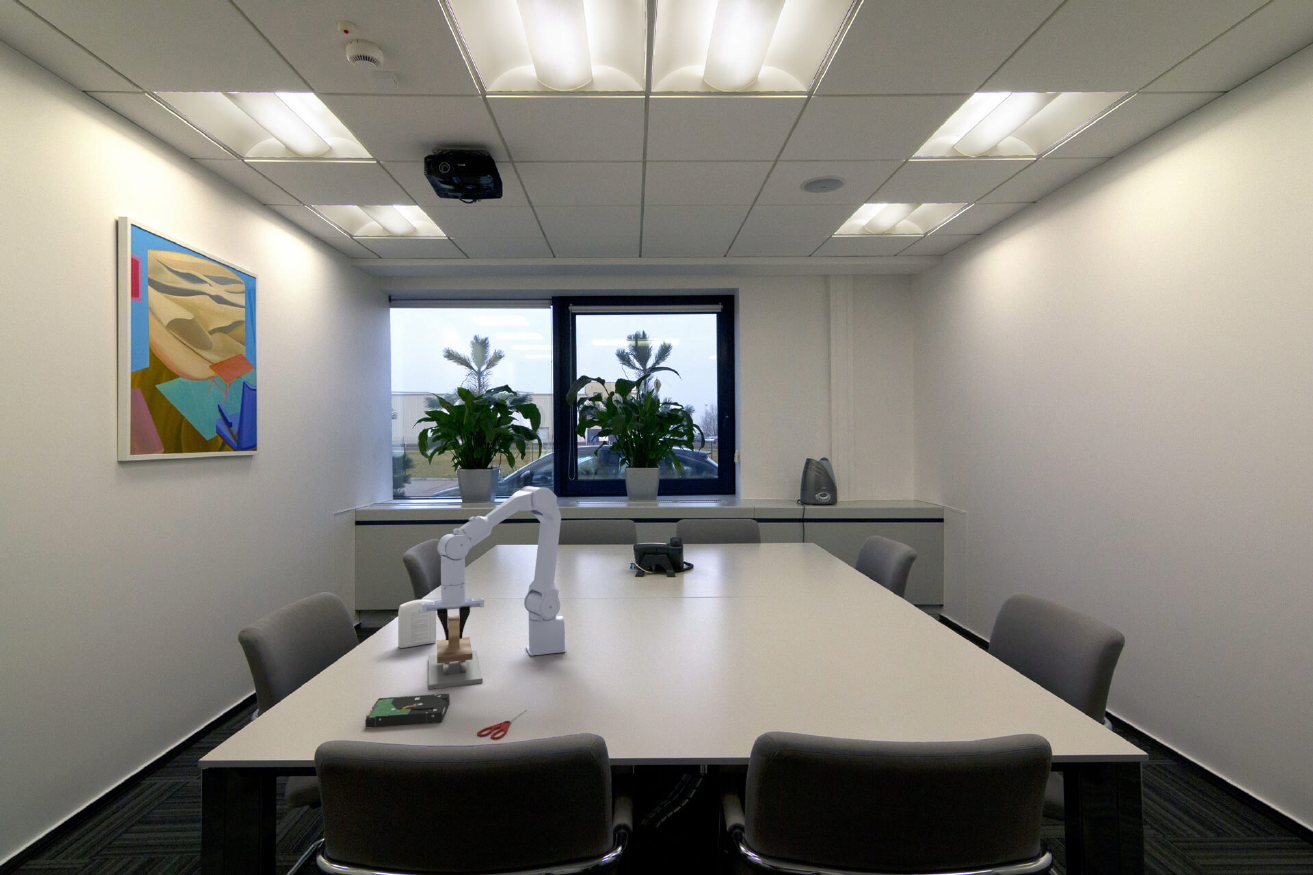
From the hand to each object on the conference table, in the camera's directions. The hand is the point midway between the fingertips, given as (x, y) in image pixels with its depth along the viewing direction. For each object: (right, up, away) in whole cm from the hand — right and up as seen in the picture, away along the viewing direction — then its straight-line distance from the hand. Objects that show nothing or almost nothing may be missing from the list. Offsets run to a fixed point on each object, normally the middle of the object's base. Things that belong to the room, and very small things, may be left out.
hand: (453, 638), depth 166 cm
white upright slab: (-17, -8, +22) cm, 29 cm away
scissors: (+20, -8, -31) cm, 38 cm away
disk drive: (-1, -9, -26) cm, 28 cm away
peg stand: (0, -8, 0) cm, 8 cm away
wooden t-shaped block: (0, -3, 0) cm, 3 cm away
